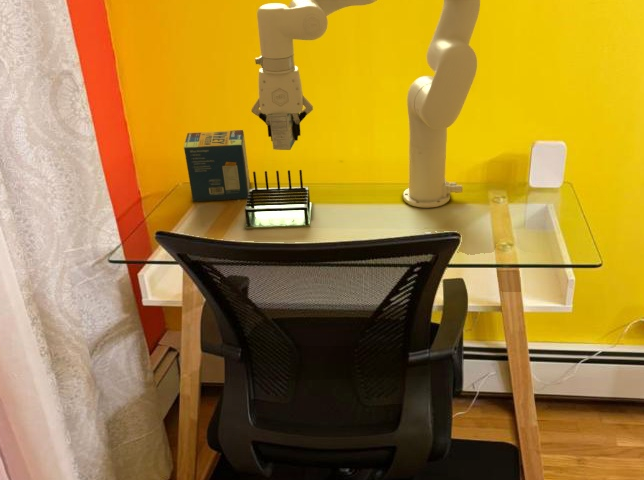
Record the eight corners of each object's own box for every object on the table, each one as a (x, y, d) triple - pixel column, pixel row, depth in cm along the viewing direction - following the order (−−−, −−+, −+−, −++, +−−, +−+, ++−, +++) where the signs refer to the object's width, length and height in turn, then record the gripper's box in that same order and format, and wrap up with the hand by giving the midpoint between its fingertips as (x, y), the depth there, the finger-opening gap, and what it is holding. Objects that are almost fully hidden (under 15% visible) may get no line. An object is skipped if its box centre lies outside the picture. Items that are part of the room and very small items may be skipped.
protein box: (195, 186, 222) (186, 132, 212) (250, 182, 222) (243, 129, 213) (192, 202, 213) (182, 147, 204) (249, 198, 214) (242, 144, 204)
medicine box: (290, 150, 190) (287, 115, 184) (272, 150, 190) (269, 114, 185) (297, 138, 196) (294, 103, 191) (280, 137, 196) (276, 103, 191)
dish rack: (311, 204, 210) (309, 168, 204) (309, 226, 200) (307, 189, 193) (250, 206, 210) (245, 170, 204) (245, 229, 200) (240, 191, 194)
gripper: (239, 68, 178) (248, 146, 189) (314, 66, 178) (319, 143, 189) (243, 59, 184) (251, 134, 195) (315, 56, 184) (320, 132, 195)
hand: (284, 138), depth 192 cm, fingers closed on medicine box, 5 cm apart
